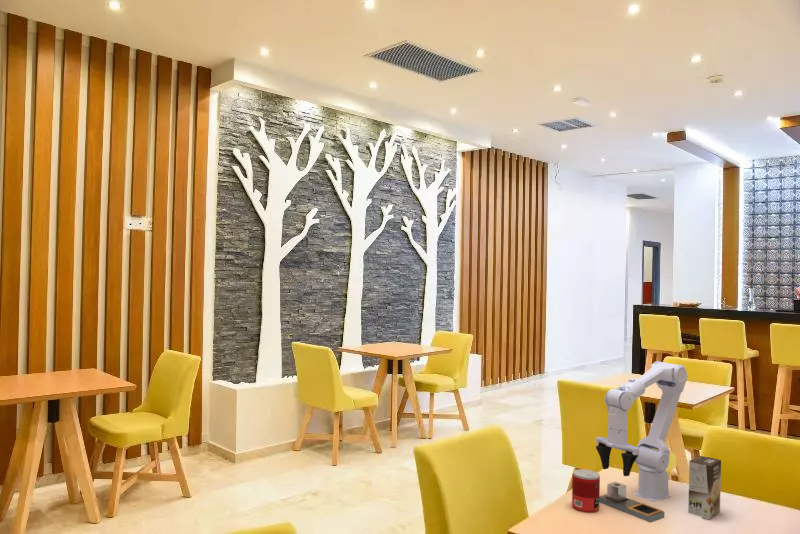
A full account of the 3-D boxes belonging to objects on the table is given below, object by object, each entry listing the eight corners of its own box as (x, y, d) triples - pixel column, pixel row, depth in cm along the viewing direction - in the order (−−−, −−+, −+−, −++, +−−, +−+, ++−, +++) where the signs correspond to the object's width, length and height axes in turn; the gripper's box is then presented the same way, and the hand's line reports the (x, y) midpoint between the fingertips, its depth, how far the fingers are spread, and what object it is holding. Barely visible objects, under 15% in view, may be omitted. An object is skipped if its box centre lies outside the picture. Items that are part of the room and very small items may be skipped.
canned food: (600, 515, 182) (601, 478, 182) (572, 512, 184) (573, 476, 184) (597, 505, 190) (598, 470, 190) (571, 503, 192) (571, 468, 192)
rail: (612, 498, 196) (612, 492, 196) (664, 518, 181) (664, 511, 181) (598, 503, 192) (598, 496, 192) (650, 523, 177) (650, 516, 177)
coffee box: (710, 520, 180) (711, 466, 180) (687, 513, 185) (688, 460, 185) (720, 512, 187) (721, 459, 187) (698, 506, 191) (699, 454, 191)
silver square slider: (615, 500, 193) (615, 481, 193) (626, 504, 190) (626, 485, 190) (607, 503, 191) (607, 483, 191) (617, 507, 188) (618, 487, 188)
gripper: (590, 424, 194) (588, 467, 194) (629, 435, 182) (628, 481, 182) (604, 422, 198) (602, 464, 198) (644, 432, 186) (642, 477, 186)
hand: (615, 472), depth 190 cm, fingers open, 7 cm apart
